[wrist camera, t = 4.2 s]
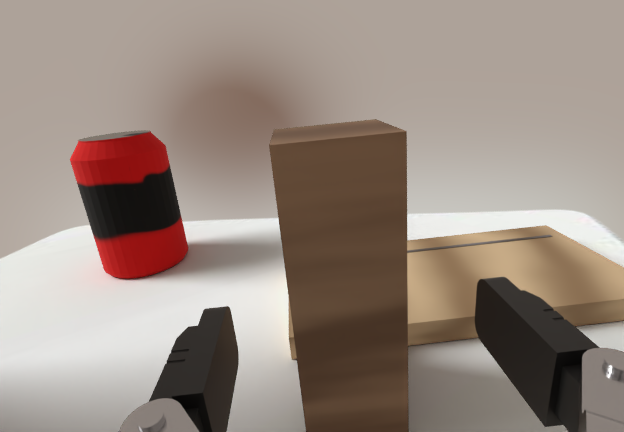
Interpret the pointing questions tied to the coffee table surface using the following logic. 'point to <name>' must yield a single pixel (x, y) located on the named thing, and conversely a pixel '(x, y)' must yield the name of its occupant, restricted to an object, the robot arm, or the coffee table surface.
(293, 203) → the block
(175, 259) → the soda can
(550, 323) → the robot arm
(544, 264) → the board
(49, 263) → the coffee table surface
